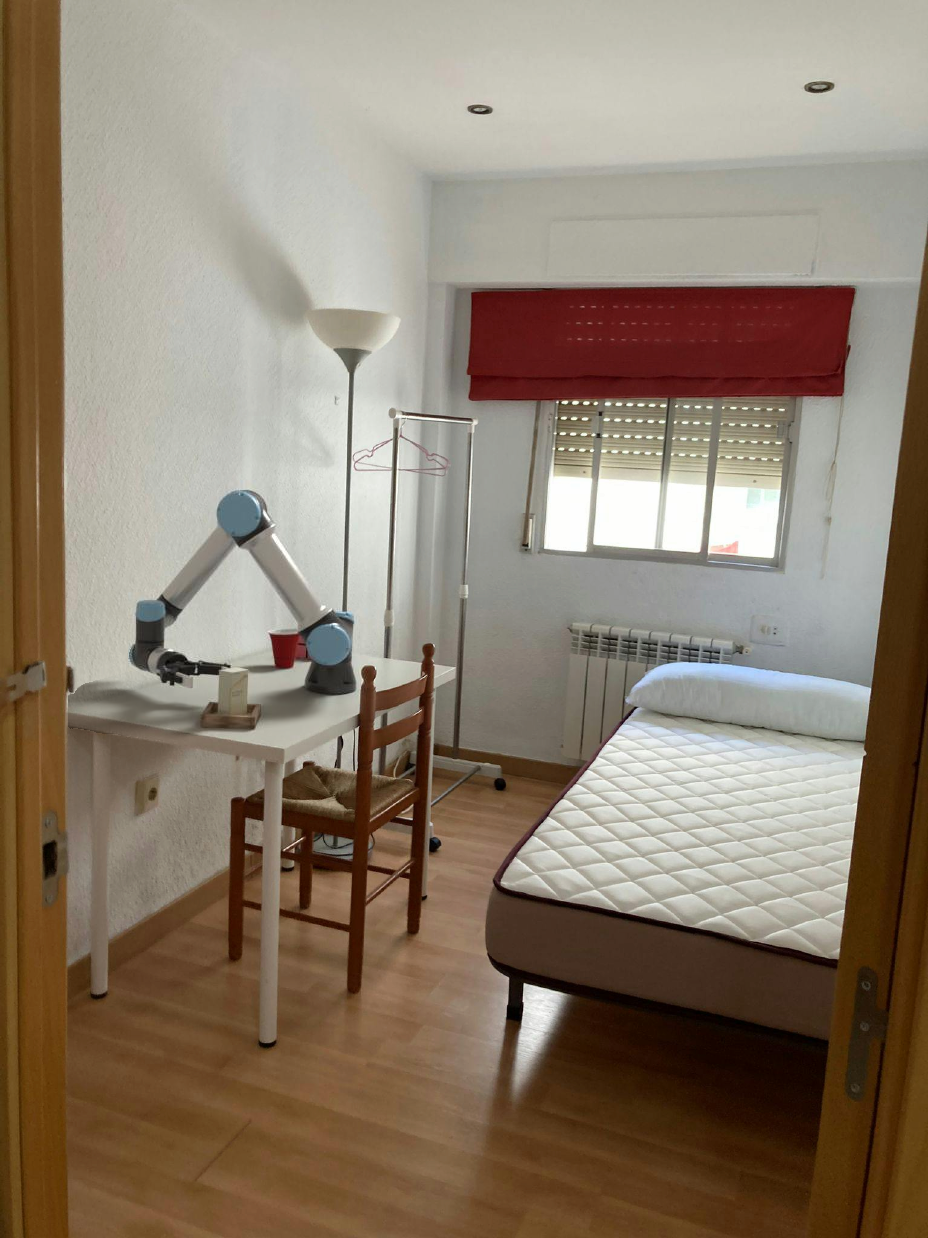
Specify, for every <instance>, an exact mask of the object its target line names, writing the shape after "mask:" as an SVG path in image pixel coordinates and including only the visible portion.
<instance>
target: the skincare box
mask: <svg viewBox="0 0 928 1238" xmlns="http://www.w3.org/2000/svg"><path fill="white" fill-rule="evenodd" d="M248 686H249V669H248V668H242V667H237V666H235V667H234V666H233V667H231V668H228V669H223V670H219V675H218V689H217V690H218V691H217V692H218V693H217V695H218V698H217V702H218V715H242V716H247V704H248V689H249V687H248Z"/></svg>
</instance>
